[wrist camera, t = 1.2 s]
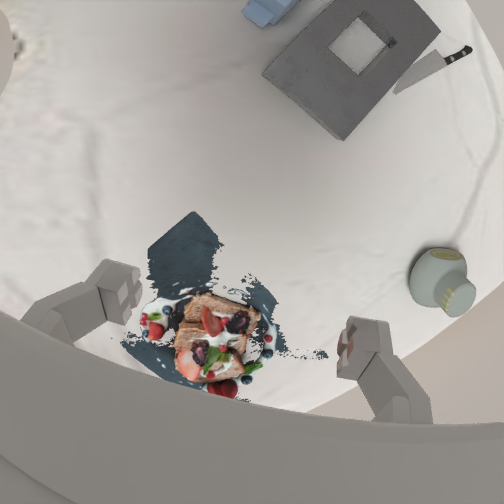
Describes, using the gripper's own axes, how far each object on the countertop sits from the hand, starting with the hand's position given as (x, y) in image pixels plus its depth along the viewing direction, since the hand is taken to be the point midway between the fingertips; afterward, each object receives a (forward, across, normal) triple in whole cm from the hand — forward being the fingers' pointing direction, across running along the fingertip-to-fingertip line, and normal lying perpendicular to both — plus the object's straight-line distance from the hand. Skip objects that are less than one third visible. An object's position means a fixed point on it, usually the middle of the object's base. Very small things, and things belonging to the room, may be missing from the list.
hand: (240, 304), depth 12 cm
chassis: (+34, -6, -11) cm, 36 cm away
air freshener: (+34, -26, +18) cm, 46 cm away
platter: (+24, +7, +33) cm, 41 cm away
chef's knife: (+38, -16, -13) cm, 43 cm away
